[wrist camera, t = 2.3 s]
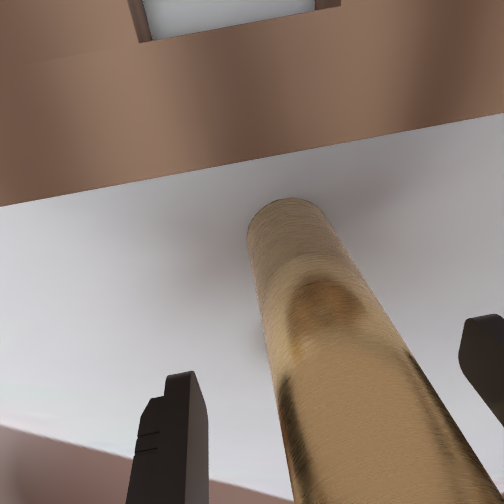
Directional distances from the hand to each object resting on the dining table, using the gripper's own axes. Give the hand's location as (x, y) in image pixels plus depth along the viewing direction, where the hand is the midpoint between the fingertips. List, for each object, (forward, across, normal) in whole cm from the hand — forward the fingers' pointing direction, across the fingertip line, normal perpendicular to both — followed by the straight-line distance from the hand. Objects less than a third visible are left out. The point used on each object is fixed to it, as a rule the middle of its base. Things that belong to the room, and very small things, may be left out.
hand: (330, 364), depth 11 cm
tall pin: (+8, 0, 0) cm, 8 cm away
